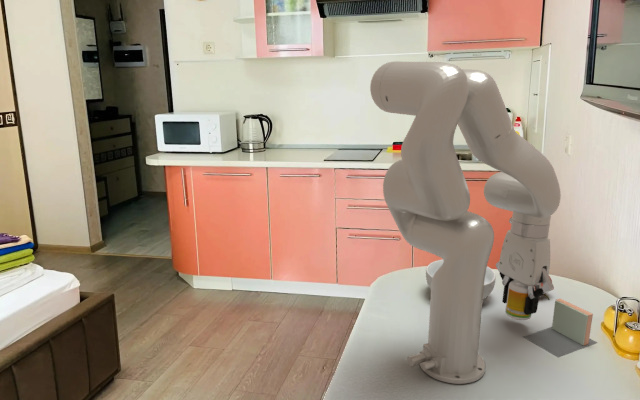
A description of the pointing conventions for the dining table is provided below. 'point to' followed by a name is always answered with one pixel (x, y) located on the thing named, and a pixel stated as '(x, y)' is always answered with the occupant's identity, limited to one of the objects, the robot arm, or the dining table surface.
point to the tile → (572, 321)
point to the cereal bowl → (488, 281)
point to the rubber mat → (556, 342)
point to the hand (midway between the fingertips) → (519, 306)
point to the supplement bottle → (517, 300)
